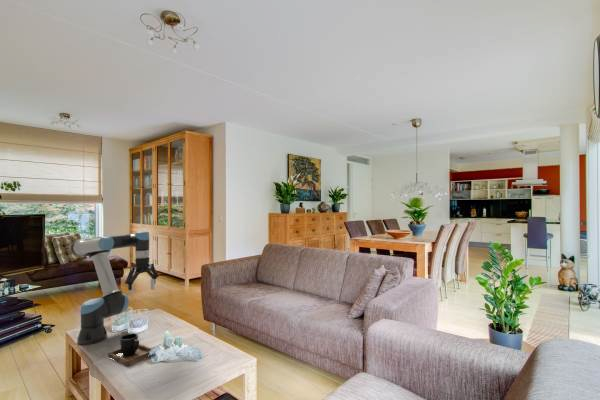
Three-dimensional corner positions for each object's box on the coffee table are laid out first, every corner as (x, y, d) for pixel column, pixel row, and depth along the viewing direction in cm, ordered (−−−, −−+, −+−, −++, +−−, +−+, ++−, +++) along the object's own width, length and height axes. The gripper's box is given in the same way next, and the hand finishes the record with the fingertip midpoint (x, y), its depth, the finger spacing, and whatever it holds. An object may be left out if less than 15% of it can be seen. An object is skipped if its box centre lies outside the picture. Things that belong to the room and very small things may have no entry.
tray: (108, 358, 167) (108, 353, 167) (134, 346, 180) (134, 342, 180) (128, 366, 158) (128, 361, 158) (154, 354, 171) (154, 349, 171)
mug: (130, 361, 162) (130, 342, 162) (117, 355, 169) (117, 337, 169) (144, 354, 169) (144, 336, 170) (132, 349, 176) (132, 332, 176)
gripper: (125, 261, 176) (126, 298, 176) (164, 254, 198) (164, 288, 198) (118, 260, 180) (118, 297, 180) (156, 253, 202) (156, 286, 201)
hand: (142, 292), depth 189 cm, fingers open, 13 cm apart
